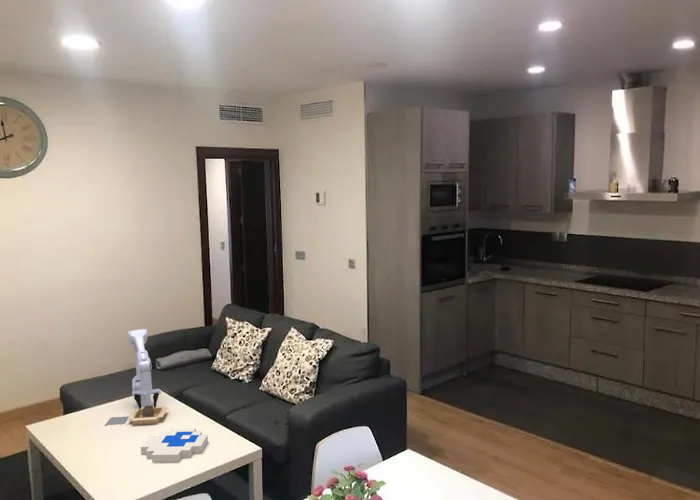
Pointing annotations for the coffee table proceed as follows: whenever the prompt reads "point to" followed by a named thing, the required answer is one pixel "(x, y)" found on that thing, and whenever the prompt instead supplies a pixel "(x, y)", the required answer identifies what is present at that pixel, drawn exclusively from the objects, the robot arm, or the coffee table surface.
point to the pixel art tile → (174, 445)
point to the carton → (138, 417)
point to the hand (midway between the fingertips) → (147, 407)
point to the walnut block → (148, 411)
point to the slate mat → (116, 420)
